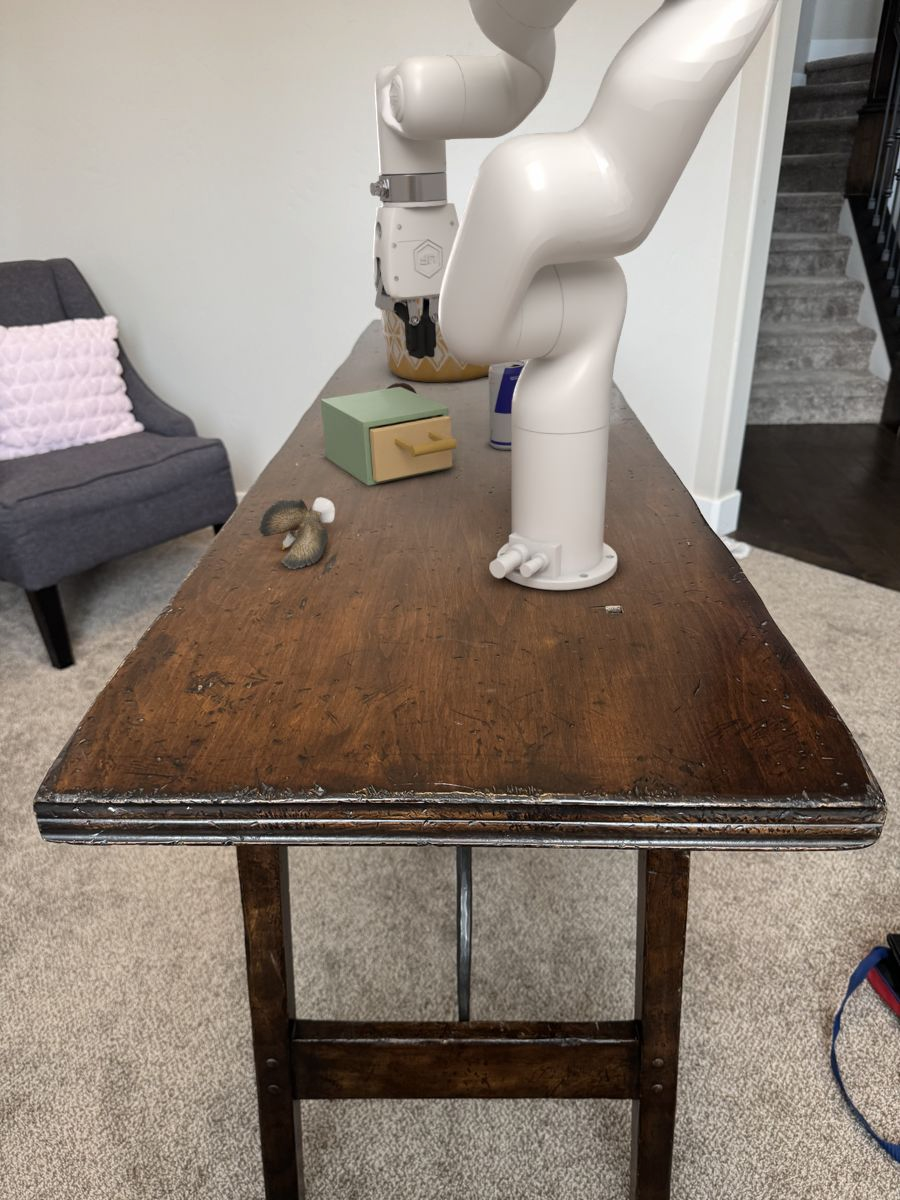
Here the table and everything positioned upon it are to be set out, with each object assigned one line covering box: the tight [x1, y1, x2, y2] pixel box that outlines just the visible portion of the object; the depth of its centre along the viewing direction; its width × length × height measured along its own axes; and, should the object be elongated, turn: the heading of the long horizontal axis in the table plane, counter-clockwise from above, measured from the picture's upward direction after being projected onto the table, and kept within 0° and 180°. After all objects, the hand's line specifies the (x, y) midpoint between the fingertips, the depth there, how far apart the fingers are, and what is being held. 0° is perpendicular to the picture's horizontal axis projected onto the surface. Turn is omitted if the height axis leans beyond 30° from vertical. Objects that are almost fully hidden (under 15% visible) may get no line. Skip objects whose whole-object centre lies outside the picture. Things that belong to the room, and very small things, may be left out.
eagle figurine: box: [257, 496, 336, 570], centre depth 98 cm, size 8×7×9 cm
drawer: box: [369, 416, 457, 482], centre depth 120 cm, size 20×11×7 cm, turn 29°
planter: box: [379, 296, 490, 383], centre depth 173 cm, size 26×26×22 cm
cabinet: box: [320, 387, 451, 487], centre depth 125 cm, size 15×13×9 cm
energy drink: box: [488, 360, 526, 451], centre depth 130 cm, size 5×5×12 cm
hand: (421, 355), depth 109 cm, fingers closed
